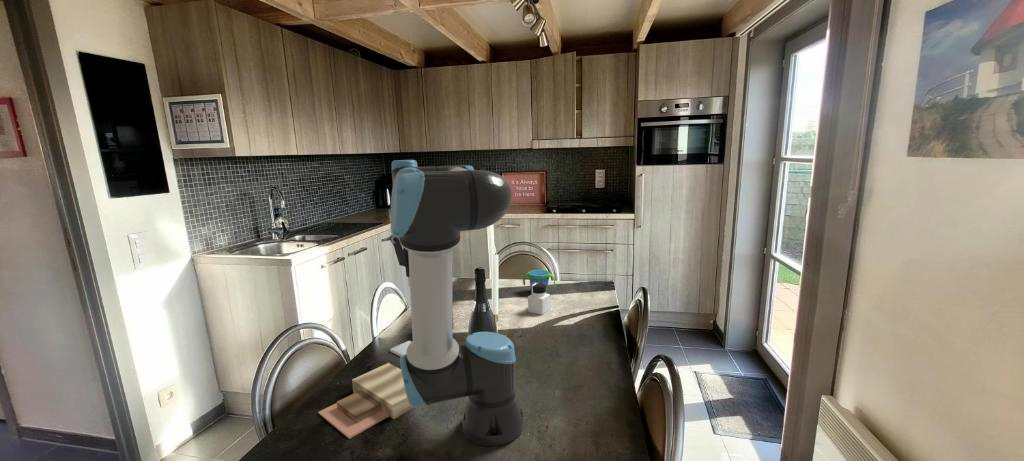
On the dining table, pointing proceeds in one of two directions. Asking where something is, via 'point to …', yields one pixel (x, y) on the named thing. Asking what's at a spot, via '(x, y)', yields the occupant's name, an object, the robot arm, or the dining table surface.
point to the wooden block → (358, 406)
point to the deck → (385, 389)
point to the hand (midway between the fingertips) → (413, 286)
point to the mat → (350, 421)
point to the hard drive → (400, 349)
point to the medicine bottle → (539, 299)
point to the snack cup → (539, 277)
